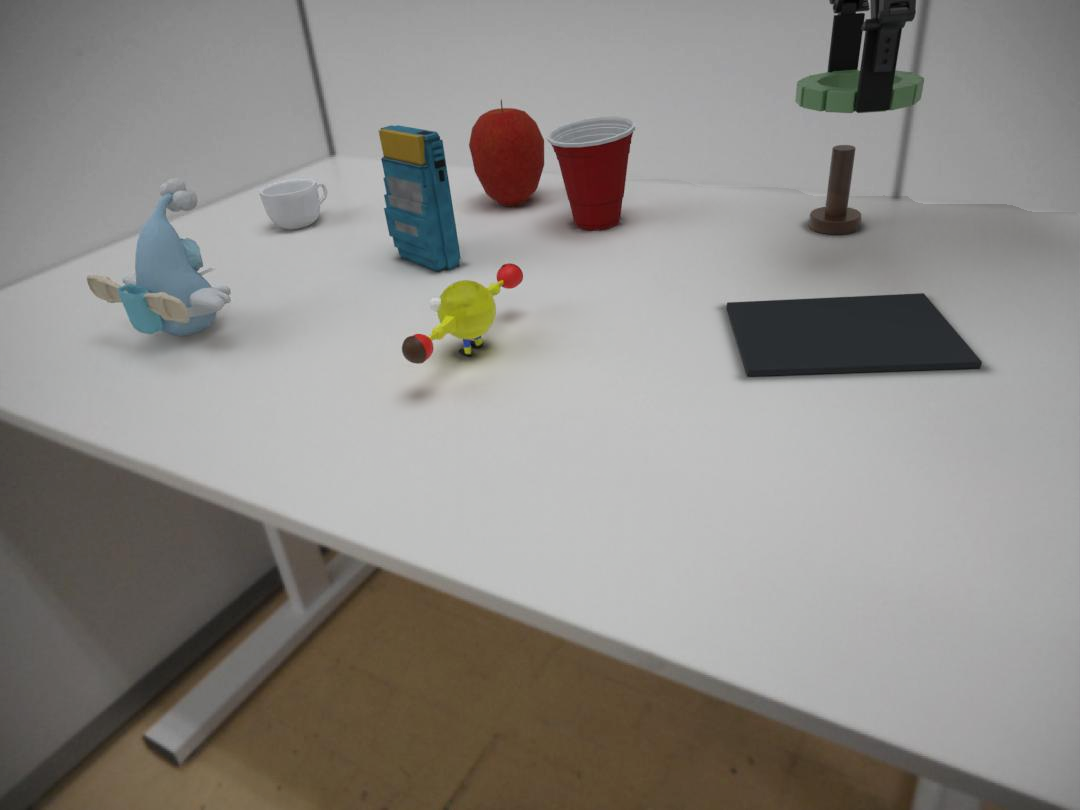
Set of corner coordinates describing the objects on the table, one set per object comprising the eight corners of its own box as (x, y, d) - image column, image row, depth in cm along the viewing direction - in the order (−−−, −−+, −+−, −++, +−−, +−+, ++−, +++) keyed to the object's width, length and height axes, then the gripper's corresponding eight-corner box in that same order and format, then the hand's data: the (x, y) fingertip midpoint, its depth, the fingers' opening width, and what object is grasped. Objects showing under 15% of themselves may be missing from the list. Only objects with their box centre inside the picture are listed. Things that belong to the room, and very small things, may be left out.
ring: (898, 85, 74) (902, 65, 73) (936, 107, 65) (940, 86, 64) (787, 93, 76) (788, 74, 75) (809, 116, 67) (811, 95, 66)
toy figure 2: (495, 306, 77) (486, 243, 73) (542, 313, 74) (536, 248, 71) (389, 393, 64) (372, 322, 60) (442, 405, 61) (428, 332, 58)
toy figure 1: (284, 323, 78) (240, 180, 70) (198, 369, 71) (138, 216, 63) (189, 298, 86) (140, 167, 78) (103, 337, 79) (40, 197, 71)
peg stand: (852, 216, 89) (863, 139, 84) (865, 233, 84) (878, 152, 80) (804, 219, 90) (812, 143, 85) (814, 235, 85) (824, 155, 80)
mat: (922, 298, 70) (923, 292, 69) (980, 368, 59) (982, 361, 58) (726, 307, 72) (726, 302, 71) (747, 376, 61) (748, 370, 60)
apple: (562, 196, 106) (555, 92, 99) (517, 218, 100) (505, 109, 92) (508, 188, 112) (497, 89, 105) (462, 208, 106) (447, 104, 98)
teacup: (291, 237, 101) (280, 198, 99) (259, 229, 106) (247, 191, 103) (348, 214, 108) (339, 177, 105) (315, 208, 112) (306, 172, 109)
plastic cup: (539, 222, 98) (530, 127, 91) (609, 203, 101) (605, 111, 95) (580, 245, 89) (573, 142, 83) (655, 224, 93) (654, 124, 87)
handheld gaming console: (466, 264, 87) (446, 132, 79) (438, 276, 85) (414, 141, 77) (418, 247, 93) (395, 123, 85) (390, 258, 91) (364, 131, 83)
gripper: (814, -177, 69) (791, 79, 81) (888, -216, 49) (843, 128, 61) (899, -187, 68) (863, 73, 80) (1009, -230, 48) (940, 122, 60)
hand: (854, 97), depth 70 cm, fingers closed on ring, 11 cm apart
